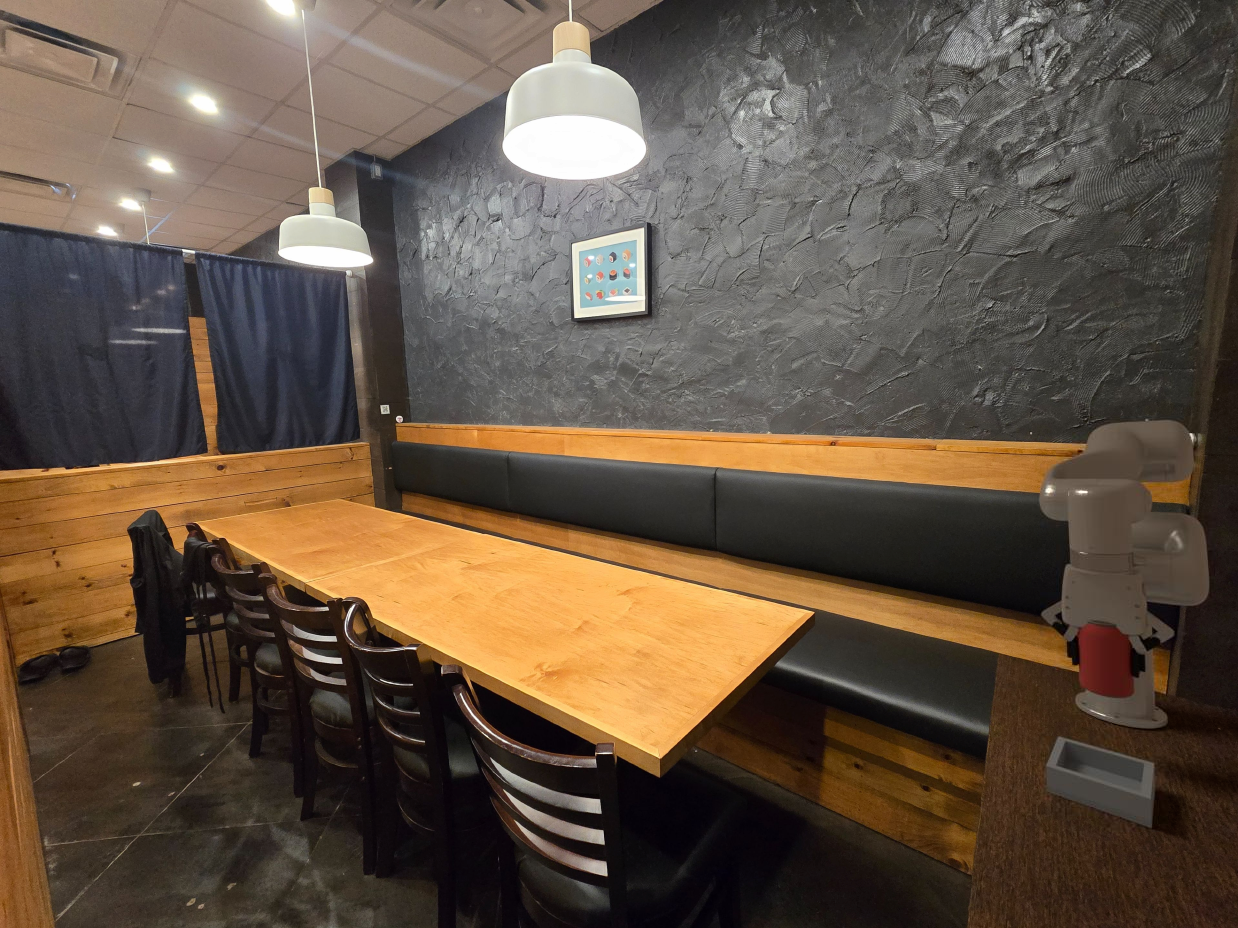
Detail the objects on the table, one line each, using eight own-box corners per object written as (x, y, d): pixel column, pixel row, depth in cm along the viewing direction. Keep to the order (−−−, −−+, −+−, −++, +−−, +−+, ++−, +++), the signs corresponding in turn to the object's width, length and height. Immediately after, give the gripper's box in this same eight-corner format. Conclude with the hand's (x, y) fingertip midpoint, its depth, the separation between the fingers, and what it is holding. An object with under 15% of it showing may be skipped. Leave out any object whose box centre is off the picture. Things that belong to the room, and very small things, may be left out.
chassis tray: (1059, 760, 86) (1058, 736, 86) (1155, 789, 78) (1154, 762, 77) (1047, 791, 78) (1046, 765, 78) (1151, 828, 70) (1150, 798, 70)
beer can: (1145, 700, 82) (1142, 625, 81) (1096, 699, 83) (1093, 625, 82) (1115, 680, 88) (1112, 611, 87) (1070, 680, 89) (1066, 611, 89)
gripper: (1179, 562, 81) (1183, 674, 81) (1037, 550, 93) (1042, 648, 94) (1178, 573, 76) (1183, 693, 76) (1029, 559, 88) (1034, 662, 89)
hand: (1105, 667), depth 85 cm, fingers closed on beer can, 6 cm apart
